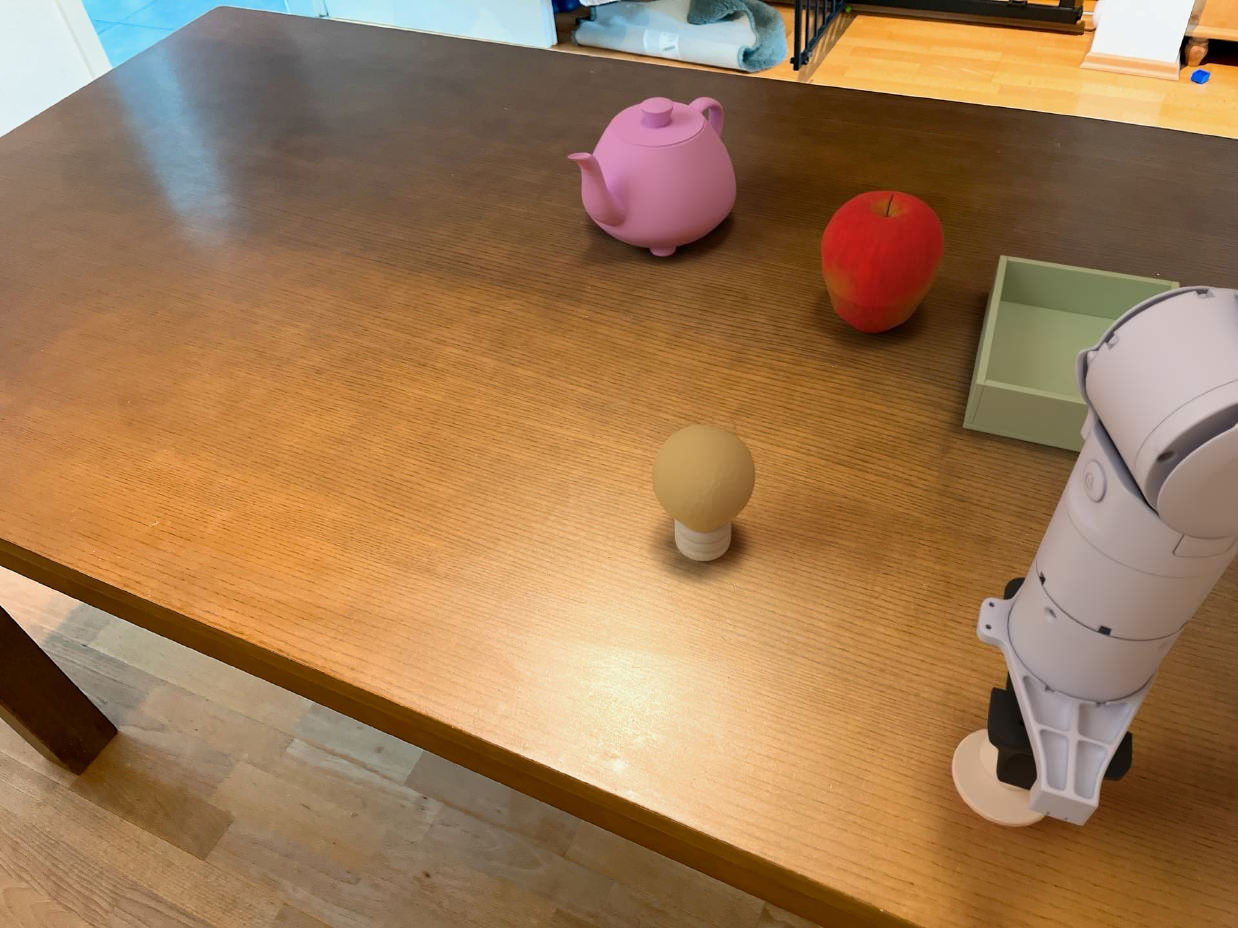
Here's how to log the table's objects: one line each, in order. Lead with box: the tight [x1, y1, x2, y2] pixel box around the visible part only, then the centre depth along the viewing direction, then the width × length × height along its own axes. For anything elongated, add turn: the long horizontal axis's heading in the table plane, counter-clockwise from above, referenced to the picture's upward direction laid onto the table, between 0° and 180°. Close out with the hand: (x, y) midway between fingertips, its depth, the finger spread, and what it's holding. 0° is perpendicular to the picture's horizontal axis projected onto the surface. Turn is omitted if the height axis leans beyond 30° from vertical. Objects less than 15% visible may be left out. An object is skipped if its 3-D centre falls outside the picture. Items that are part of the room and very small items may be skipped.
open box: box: [962, 254, 1181, 453], centre depth 70 cm, size 13×16×4 cm
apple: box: [820, 190, 946, 334], centre depth 73 cm, size 9×9×12 cm
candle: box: [951, 717, 1047, 828], centre depth 45 cm, size 5×5×10 cm
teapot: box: [567, 96, 737, 257], centre depth 84 cm, size 20×14×12 cm
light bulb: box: [651, 423, 756, 562], centre depth 59 cm, size 6×6×10 cm
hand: (1024, 739), depth 45 cm, fingers closed on candle, 4 cm apart
